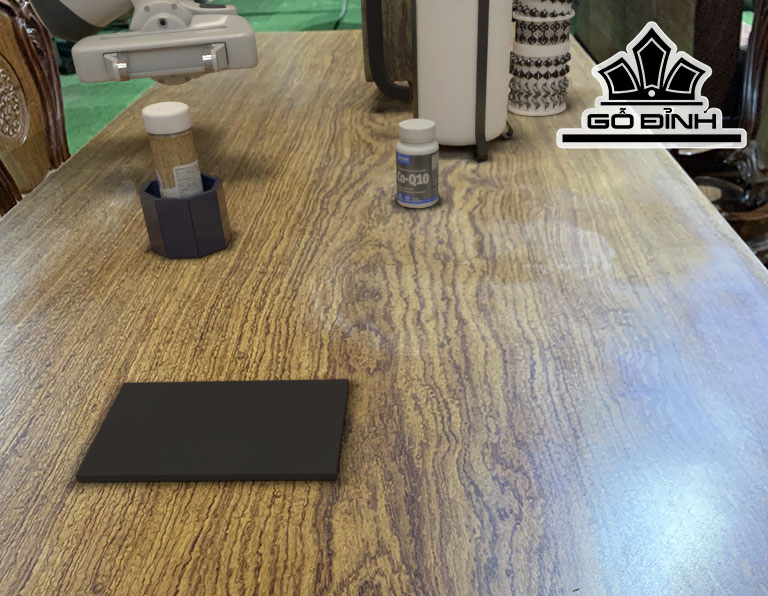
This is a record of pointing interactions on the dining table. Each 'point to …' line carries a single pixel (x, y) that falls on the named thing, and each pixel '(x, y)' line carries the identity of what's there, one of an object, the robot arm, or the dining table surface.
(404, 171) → the pill bottle
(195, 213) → the pen cup
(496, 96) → the coffee press
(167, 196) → the sprinkles bottle
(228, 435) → the mat
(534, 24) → the decorative candle
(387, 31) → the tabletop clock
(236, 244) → the dining table surface
